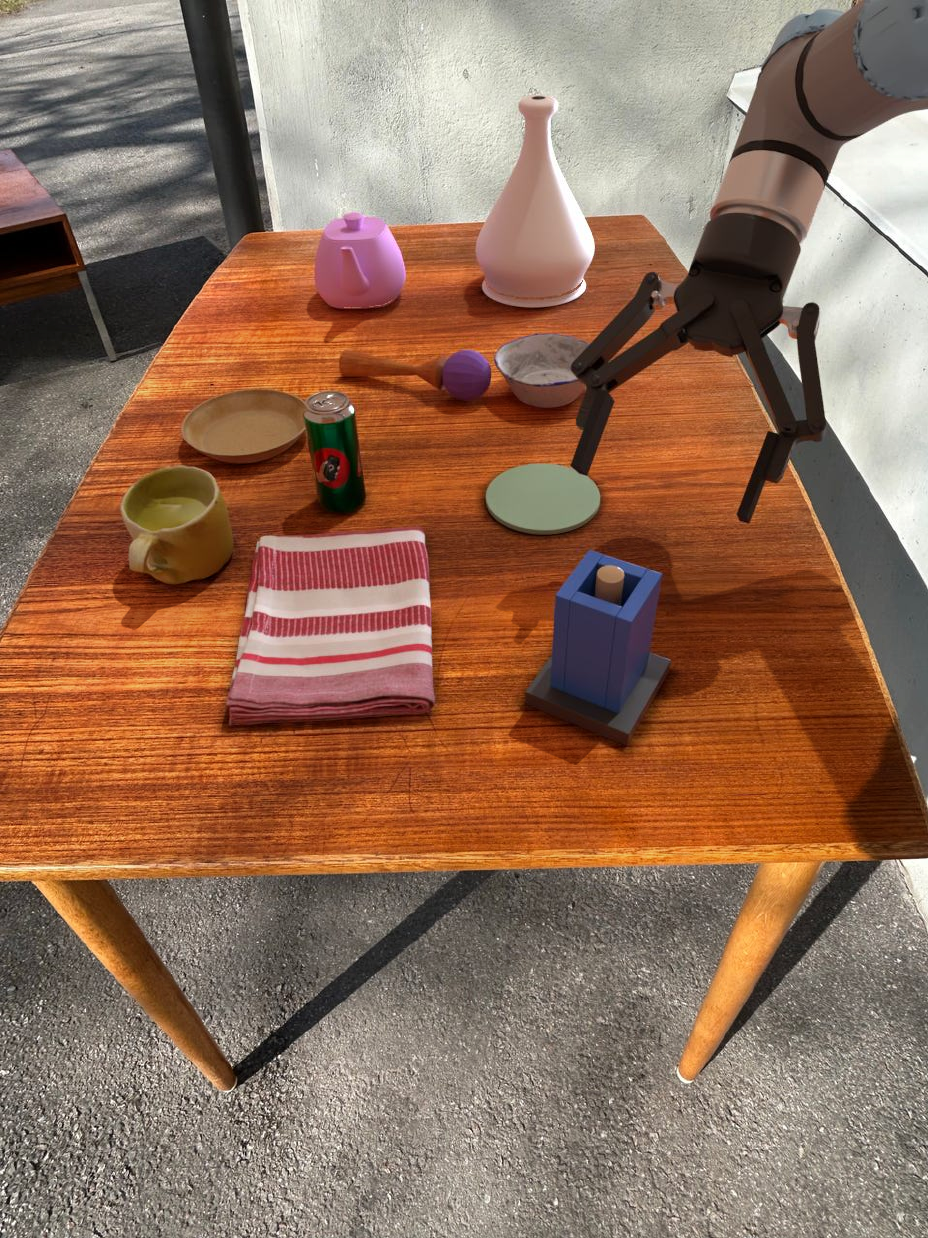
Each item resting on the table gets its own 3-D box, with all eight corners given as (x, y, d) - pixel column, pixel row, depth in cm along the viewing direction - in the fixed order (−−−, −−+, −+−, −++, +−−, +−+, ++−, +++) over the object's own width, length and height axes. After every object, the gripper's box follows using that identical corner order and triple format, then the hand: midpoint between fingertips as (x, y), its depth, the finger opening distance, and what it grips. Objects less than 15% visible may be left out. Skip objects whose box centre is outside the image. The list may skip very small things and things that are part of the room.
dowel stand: (571, 636, 77) (580, 523, 68) (669, 672, 73) (691, 557, 65) (524, 704, 71) (527, 590, 63) (627, 746, 68) (645, 632, 59)
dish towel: (227, 730, 70) (220, 709, 68) (260, 548, 87) (255, 527, 85) (436, 717, 70) (434, 695, 69) (428, 538, 87) (426, 517, 86)
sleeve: (581, 640, 74) (589, 549, 67) (647, 665, 72) (662, 573, 65) (549, 686, 70) (555, 594, 64) (618, 714, 68) (631, 622, 61)
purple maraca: (355, 333, 112) (498, 346, 105) (359, 379, 115) (498, 394, 108) (331, 345, 108) (479, 359, 101) (336, 392, 111) (480, 409, 104)
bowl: (561, 357, 114) (563, 322, 111) (619, 399, 106) (623, 363, 103) (475, 383, 110) (475, 347, 107) (529, 429, 102) (530, 392, 98)
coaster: (611, 478, 94) (612, 473, 94) (583, 544, 86) (583, 540, 86) (506, 459, 97) (506, 455, 97) (469, 521, 89) (469, 517, 89)
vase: (609, 300, 126) (626, 106, 109) (495, 317, 124) (493, 120, 106) (568, 257, 139) (577, 76, 122) (463, 271, 136) (457, 88, 119)
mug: (171, 497, 91) (158, 435, 82) (256, 542, 90) (252, 484, 81) (95, 583, 85) (72, 526, 76) (185, 632, 84) (172, 580, 75)
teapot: (325, 274, 137) (314, 194, 129) (409, 271, 136) (403, 192, 128) (308, 331, 122) (295, 246, 114) (403, 328, 122) (396, 242, 114)
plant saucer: (300, 397, 109) (297, 378, 107) (325, 458, 99) (322, 438, 97) (181, 420, 106) (175, 401, 104) (193, 485, 95) (187, 465, 94)
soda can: (374, 505, 92) (362, 404, 83) (331, 522, 90) (314, 420, 82) (353, 483, 95) (339, 383, 87) (311, 498, 93) (292, 397, 85)
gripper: (921, 284, 66) (819, 549, 67) (615, 231, 75) (531, 463, 76) (932, 235, 59) (819, 532, 60) (594, 184, 68) (502, 440, 70)
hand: (657, 494), depth 68 cm, fingers open, 13 cm apart
